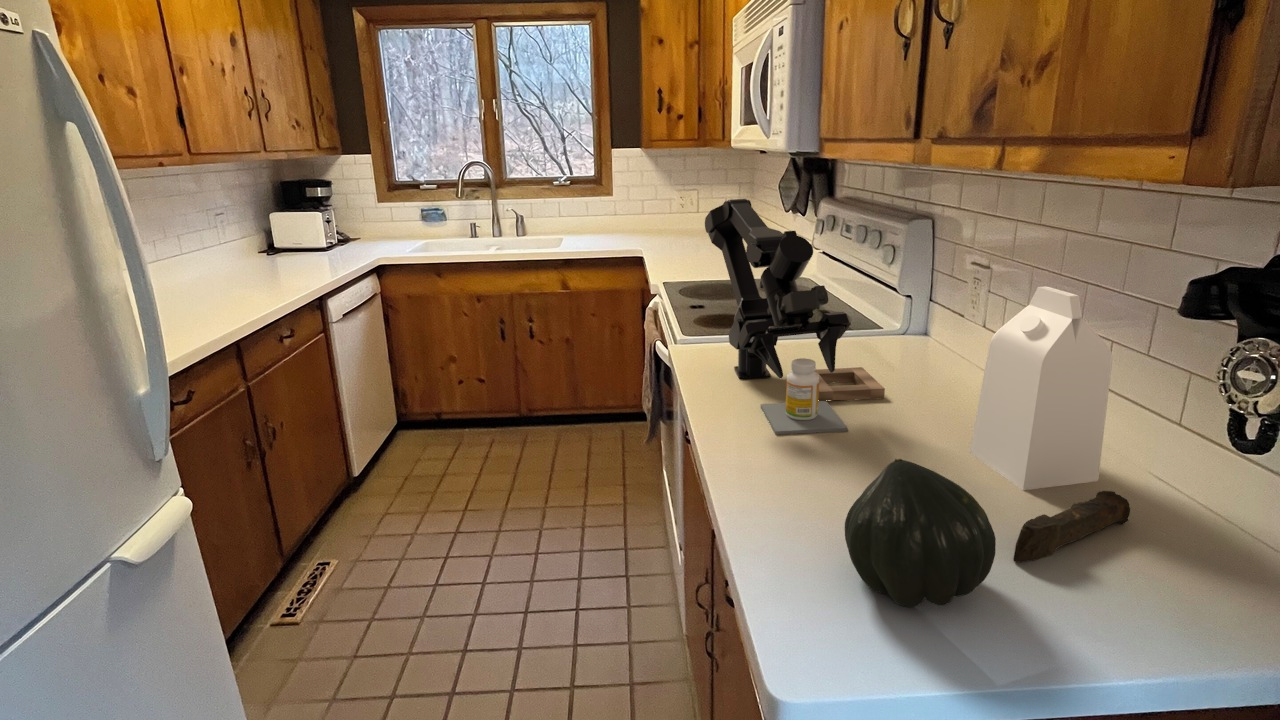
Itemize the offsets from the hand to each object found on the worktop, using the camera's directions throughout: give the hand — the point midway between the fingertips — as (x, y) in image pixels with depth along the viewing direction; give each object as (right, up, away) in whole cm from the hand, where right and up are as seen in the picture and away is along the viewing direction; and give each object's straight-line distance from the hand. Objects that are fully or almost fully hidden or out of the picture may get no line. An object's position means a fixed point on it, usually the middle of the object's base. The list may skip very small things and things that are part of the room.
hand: (807, 374), depth 116 cm
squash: (+2, -22, -40) cm, 46 cm away
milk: (+29, -13, -15) cm, 35 cm away
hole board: (+10, -3, +17) cm, 20 cm away
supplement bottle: (0, -7, +4) cm, 8 cm away
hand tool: (+23, -20, -33) cm, 45 cm away
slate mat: (0, -8, +4) cm, 9 cm away
